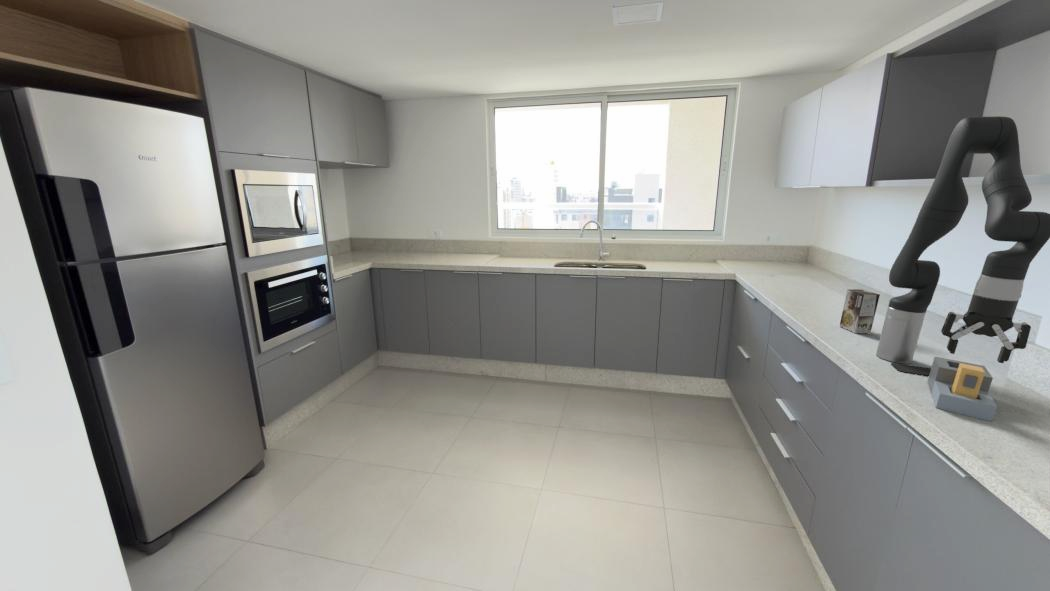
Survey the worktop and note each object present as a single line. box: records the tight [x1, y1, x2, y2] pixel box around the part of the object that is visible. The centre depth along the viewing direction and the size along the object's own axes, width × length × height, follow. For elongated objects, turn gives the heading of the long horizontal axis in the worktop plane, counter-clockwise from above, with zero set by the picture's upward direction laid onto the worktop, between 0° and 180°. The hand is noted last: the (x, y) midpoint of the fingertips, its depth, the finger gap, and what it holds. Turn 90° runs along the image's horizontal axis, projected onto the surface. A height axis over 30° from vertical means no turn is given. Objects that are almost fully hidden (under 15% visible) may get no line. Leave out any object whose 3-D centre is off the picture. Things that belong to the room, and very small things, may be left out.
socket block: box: [927, 356, 998, 422], centre depth 111 cm, size 20×10×8 cm, turn 141°
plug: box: [951, 363, 985, 399], centre depth 106 cm, size 5×4×10 cm
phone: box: [890, 362, 931, 377], centre depth 129 cm, size 7×1×15 cm
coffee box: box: [839, 288, 881, 334], centre depth 166 cm, size 9×6×16 cm
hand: (975, 357), depth 105 cm, fingers open, 8 cm apart
